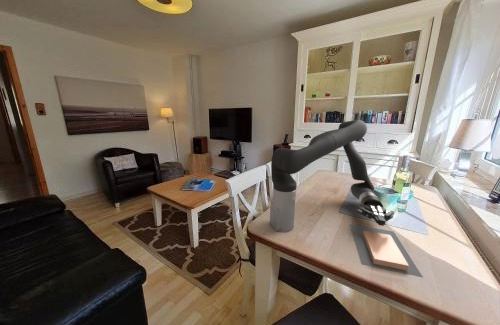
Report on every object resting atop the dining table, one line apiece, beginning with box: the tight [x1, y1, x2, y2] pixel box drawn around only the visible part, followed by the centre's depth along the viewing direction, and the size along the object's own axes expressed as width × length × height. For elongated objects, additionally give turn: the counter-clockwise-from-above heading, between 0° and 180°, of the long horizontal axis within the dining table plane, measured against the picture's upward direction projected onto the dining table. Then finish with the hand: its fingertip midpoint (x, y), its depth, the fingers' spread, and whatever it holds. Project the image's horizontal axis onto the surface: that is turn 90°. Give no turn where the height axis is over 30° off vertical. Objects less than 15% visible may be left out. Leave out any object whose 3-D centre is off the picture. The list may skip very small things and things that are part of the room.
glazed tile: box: [363, 230, 409, 271], centre depth 68 cm, size 2×9×16 cm
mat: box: [349, 224, 424, 278], centre depth 71 cm, size 24×16×1 cm, turn 162°
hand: (381, 223), depth 71 cm, fingers closed
